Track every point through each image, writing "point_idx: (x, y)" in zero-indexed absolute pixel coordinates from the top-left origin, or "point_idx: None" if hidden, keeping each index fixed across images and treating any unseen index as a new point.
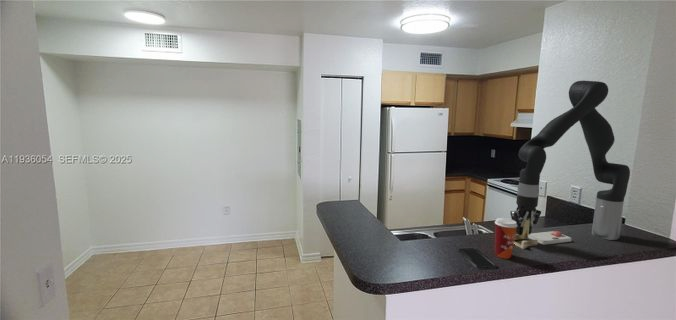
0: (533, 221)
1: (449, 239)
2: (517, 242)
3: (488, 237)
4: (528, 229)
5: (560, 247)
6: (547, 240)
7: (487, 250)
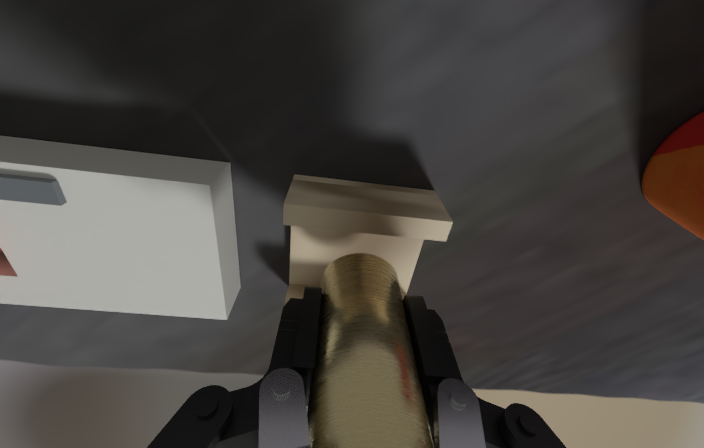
0: (226, 440)
1: (654, 384)
2: None
3: None
4: (359, 329)
5: (65, 96)
6: (159, 182)
7: (675, 251)
